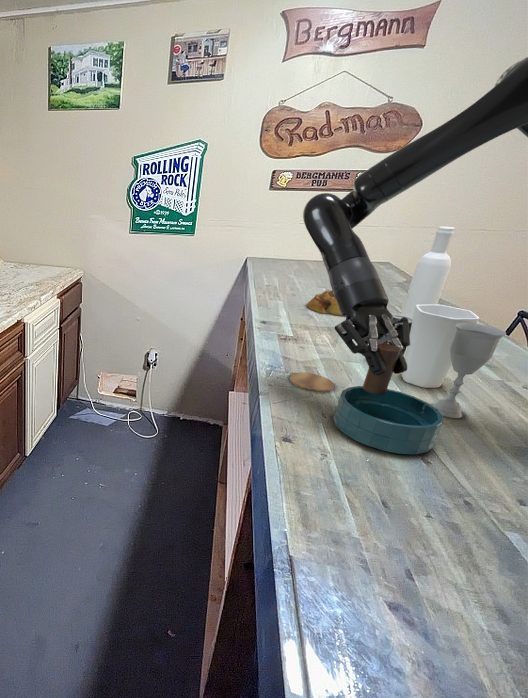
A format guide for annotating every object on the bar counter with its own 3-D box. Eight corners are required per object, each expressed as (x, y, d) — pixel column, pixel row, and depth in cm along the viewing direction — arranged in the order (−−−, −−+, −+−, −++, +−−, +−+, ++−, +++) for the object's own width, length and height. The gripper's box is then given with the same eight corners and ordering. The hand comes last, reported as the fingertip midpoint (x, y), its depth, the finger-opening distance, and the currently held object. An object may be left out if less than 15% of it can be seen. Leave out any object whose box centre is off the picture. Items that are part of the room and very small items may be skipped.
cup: (389, 368, 113) (412, 301, 106) (440, 376, 109) (467, 307, 102) (398, 386, 104) (423, 315, 97) (454, 396, 100) (485, 322, 93)
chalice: (430, 416, 92) (463, 332, 84) (419, 401, 98) (449, 321, 90) (475, 423, 89) (514, 337, 82) (461, 407, 95) (496, 326, 88)
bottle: (396, 328, 140) (430, 227, 128) (396, 321, 146) (428, 224, 134) (429, 333, 136) (467, 229, 123) (427, 326, 141) (463, 226, 129)
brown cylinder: (382, 387, 85) (397, 345, 81) (388, 396, 82) (403, 352, 78) (360, 384, 86) (373, 342, 82) (365, 392, 83) (379, 349, 79)
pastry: (361, 318, 148) (368, 294, 145) (310, 313, 153) (315, 290, 150) (352, 307, 160) (359, 284, 156) (305, 302, 164) (310, 280, 161)
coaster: (329, 378, 108) (330, 376, 108) (337, 394, 100) (337, 392, 100) (287, 372, 111) (288, 370, 110) (292, 388, 103) (292, 386, 103)
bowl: (414, 420, 90) (424, 393, 88) (445, 465, 77) (458, 434, 75) (326, 406, 95) (333, 380, 93) (341, 446, 82) (350, 417, 79)
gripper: (337, 278, 81) (372, 368, 75) (405, 275, 84) (445, 363, 78) (310, 298, 88) (340, 382, 82) (373, 295, 91) (407, 377, 85)
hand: (390, 372), depth 80 cm, fingers closed on brown cylinder, 3 cm apart
